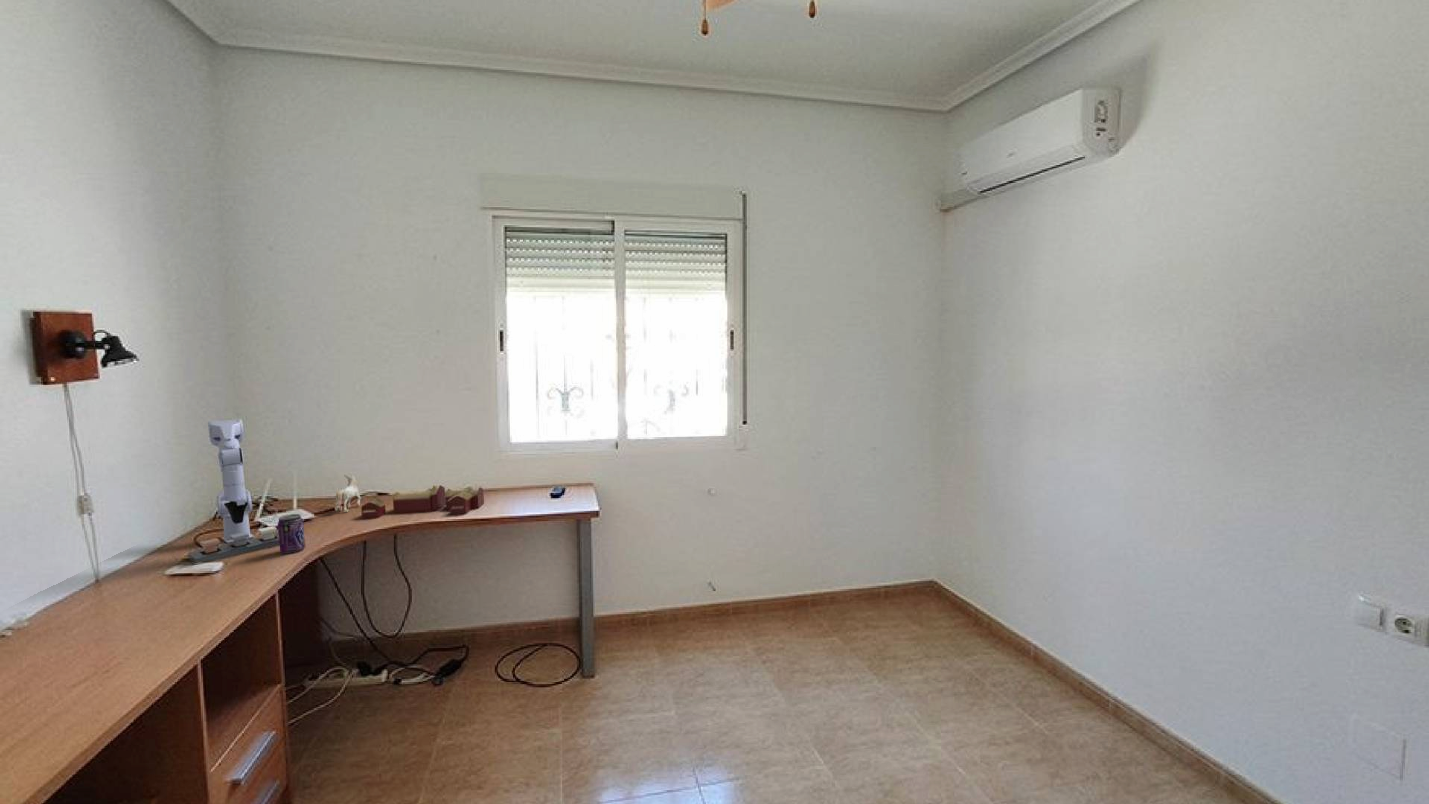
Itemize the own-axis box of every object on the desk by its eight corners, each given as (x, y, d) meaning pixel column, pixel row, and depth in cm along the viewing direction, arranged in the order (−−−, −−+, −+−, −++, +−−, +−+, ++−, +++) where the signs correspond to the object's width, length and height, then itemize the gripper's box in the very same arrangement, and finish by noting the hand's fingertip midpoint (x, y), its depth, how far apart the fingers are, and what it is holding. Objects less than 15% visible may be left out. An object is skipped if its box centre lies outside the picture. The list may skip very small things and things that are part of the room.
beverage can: (292, 554, 202) (289, 520, 201) (275, 553, 203) (271, 519, 202) (310, 547, 209) (307, 514, 207) (293, 546, 210) (290, 513, 209)
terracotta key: (200, 551, 201) (199, 541, 201) (217, 547, 204) (216, 538, 204) (203, 554, 198) (202, 544, 198) (220, 550, 202) (219, 540, 201)
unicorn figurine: (364, 502, 270) (362, 473, 269) (353, 513, 251) (351, 482, 250) (346, 504, 268) (343, 474, 266) (334, 515, 249) (331, 484, 248)
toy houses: (486, 502, 265) (484, 479, 264) (471, 515, 245) (470, 491, 244) (379, 507, 261) (377, 485, 260) (355, 521, 240) (353, 496, 240)
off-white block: (258, 538, 213) (257, 529, 213) (273, 535, 217) (272, 526, 216) (262, 541, 211) (261, 531, 210) (277, 537, 214) (276, 528, 214)
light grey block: (230, 544, 207) (229, 535, 207) (246, 541, 211) (245, 531, 210) (233, 547, 204) (232, 537, 204) (249, 543, 208) (248, 534, 207)
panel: (188, 558, 201) (188, 552, 201) (281, 537, 221) (280, 532, 221) (195, 564, 195) (194, 558, 194) (289, 543, 214) (289, 537, 214)
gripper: (213, 483, 207) (218, 521, 208) (224, 489, 198) (228, 529, 199) (239, 479, 212) (243, 517, 214) (250, 484, 203) (254, 523, 204)
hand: (237, 522), depth 207 cm, fingers closed
